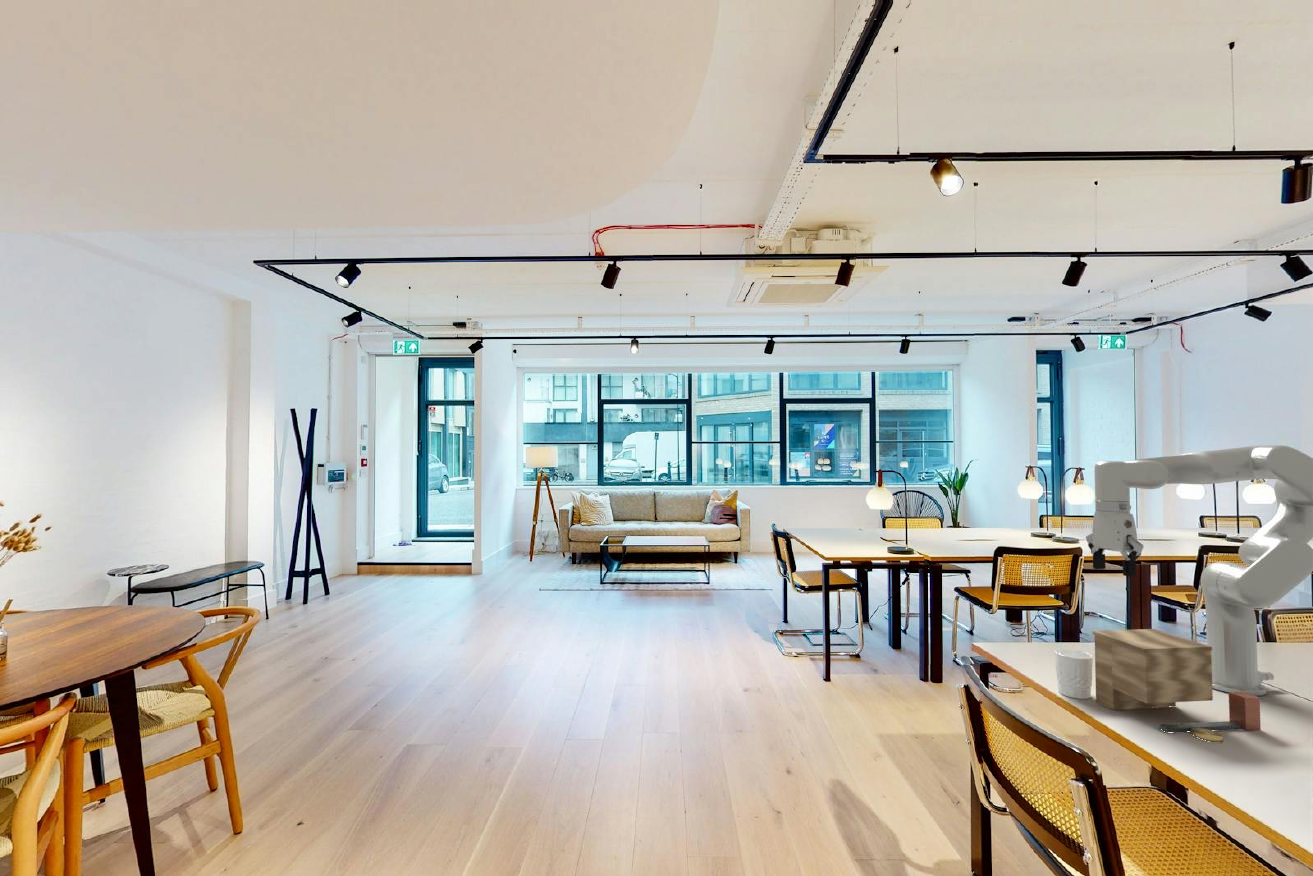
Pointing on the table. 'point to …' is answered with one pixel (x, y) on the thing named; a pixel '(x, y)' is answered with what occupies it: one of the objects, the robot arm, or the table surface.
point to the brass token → (1207, 734)
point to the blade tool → (1240, 715)
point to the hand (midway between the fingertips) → (1113, 572)
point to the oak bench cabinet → (1150, 669)
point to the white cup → (1074, 673)
